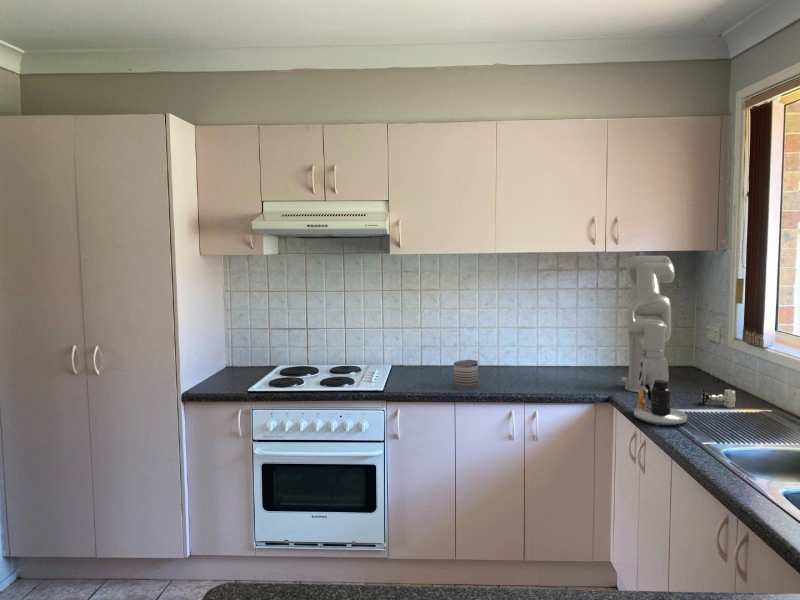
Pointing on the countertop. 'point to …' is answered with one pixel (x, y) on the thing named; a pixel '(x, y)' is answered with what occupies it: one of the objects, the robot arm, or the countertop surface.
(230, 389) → the countertop surface
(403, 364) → the countertop surface
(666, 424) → the turntable base
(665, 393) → the supplement bottle
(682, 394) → the countertop surface
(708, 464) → the countertop surface
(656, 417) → the turntable
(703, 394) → the valve
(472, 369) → the can
